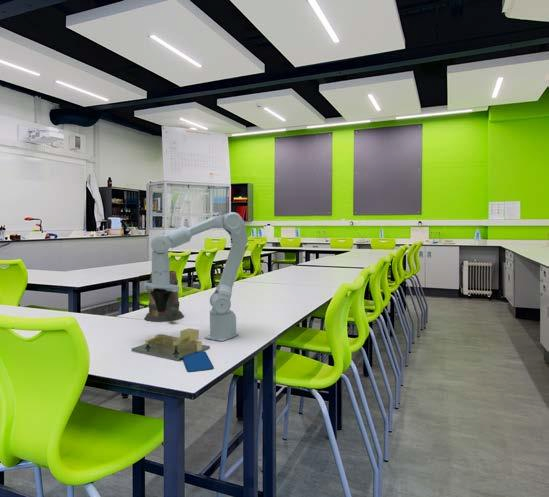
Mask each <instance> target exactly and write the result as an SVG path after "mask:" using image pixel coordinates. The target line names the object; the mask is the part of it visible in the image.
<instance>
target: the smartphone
mask: <svg viewBox="0 0 549 497" xmlns="http://www.w3.org/2000/svg"><path fill="white" fill-rule="evenodd" d="M182 362H183V365H184V368H185V370H186V372H187V373H195V372H197V373H198V372H204V371H205V372H206V371H211V370H214V369H215V367H214V365H213V362H212V361H211V359H210V357H209V356H208V353H207V352H206V350H205V351H201V352H195V353H193V354H191V355H189V356H186V357H184V358H183V360H182Z"/></svg>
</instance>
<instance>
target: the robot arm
mask: <svg viewBox="0 0 549 497" xmlns="http://www.w3.org/2000/svg"><path fill="white" fill-rule="evenodd" d="M211 229H223V230H225V232H227V233H228V235H229V237H230V239H231V240H232V243H231V247H230V249H229V251H228V255H227V259H226V261H225V265H224V267H223V270H222V272H221V276H220V279H219V283H218V284H217V285H216V288H215V291H214V292H213V293H212V294H211V295H210V298H209V304H210V306H211V307H212V308H211V309H210V311H209V335H207V336H205V337H204V339H207V340H213V341H218V342H224V341H226V340H230V339H232V338H235V337H237V336H239V333H237V316H236V314H235V312H234V311H232V310H231V309H230V308H231V306H232V304H231V303H232V302H231V298H232V295H233V294H232V293H233V292H232V291H233V286H234V284H235V281H236V278H237V275H238V272H239V268H240V265H241V262H242V259H243V257H244V253H245V250H246V247H247V245H248V241H249V239H248V234H247V233H248V232H247V229H246V224H245V221H244V219H243V217H242V216H241V215H240V214H239V213H238V212H234V211H232V212H228V213H224V214H220V215H216V216H212V217H210V218H207V219H205V220H203V221H201V222H198V223H196V224H194V225H192V226H189V227H187V226H184V225H182V226H180V225H177V226H175V228H174V229H172V230H169V231H167V232H165V231H164V232H162V235H161V234H160V235H157V236H155V237H153V238H152V240H151V242H150V247H151V249H152V251H151V272H152V283H149V282H144V283H143V290H150V289H154V290H153V291H152V292H150V291H149V295H150V294H151V295H152V297H153V299H154V301H155V303H156V307H157V310H158V312H164V311H165V309H166V305H167V301H168V299H169V297H170V295H171V293H172V291H173V292H178V293H179V292H180V285H173V284H170V271H171V270H170V257H169V249H174V248H177V247H180V246H182V245H184V244H187V243H189V242H190V241H191V239H192V237H193V236H195V235H198V234H200V233H203V232H206V231H209V230H211ZM162 288H164V289H162Z"/></svg>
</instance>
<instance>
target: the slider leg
mask: <svg viewBox="0 0 549 497" xmlns="http://www.w3.org/2000/svg"><path fill="white" fill-rule="evenodd" d="M179 335H180V336H179V338H180V340H177V341H174V342H173V345H175V353H178V352H177V345H179V344H182V343H185V342H193V341H199V339H200V337H199V336H200V332H199V329H195V328H185V329H182V330H179Z"/></svg>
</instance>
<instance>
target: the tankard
mask: <svg viewBox="0 0 549 497" xmlns="http://www.w3.org/2000/svg"><path fill="white" fill-rule="evenodd" d="M169 271H170V284H173V285H178V284H179V280H178V277H177V272H176V270H169ZM149 277H150V278H149V281H148V283H152V271H151V273H150V276H149ZM178 286H179V285H178ZM162 289H164V288H162ZM153 290H154V289H149V296H148V297H149V301H148V313H147V314H146V315H145V317H144V318H143V321H145V320H146V322H149V321H150V322H149V323H167V322H175V321H178V320H182V319H184V318H185V316H184V314H183V313H182V311H180V301H179V291H178V292H173V291H172V293H171V295H170V297H169V299H168V301H167V305H166V309H165V311H164V312H158V310H157V307H156V303H155V301H154V299H153V297H152V295H151V294H150V292H152V291H153Z"/></svg>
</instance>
